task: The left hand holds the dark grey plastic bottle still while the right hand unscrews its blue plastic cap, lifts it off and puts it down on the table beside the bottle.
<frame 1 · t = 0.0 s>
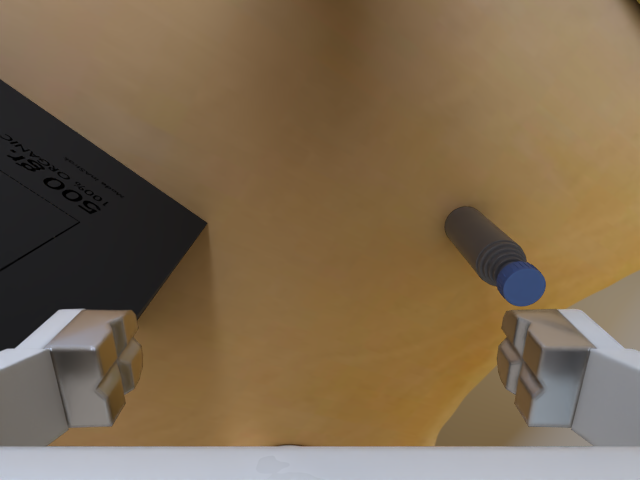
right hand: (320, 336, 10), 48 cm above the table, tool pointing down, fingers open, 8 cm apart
black boxy piece: (43, 196, 58), on the table
cap: (523, 286, 42), point 18 cm above the table, screwed on, not yet turned
bottle: (464, 225, 60), on the table
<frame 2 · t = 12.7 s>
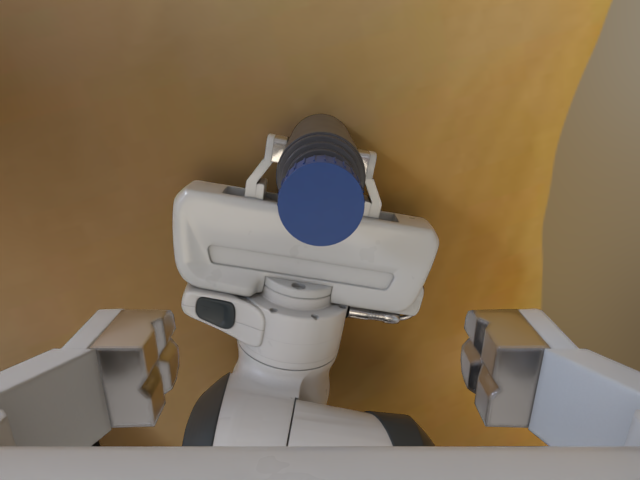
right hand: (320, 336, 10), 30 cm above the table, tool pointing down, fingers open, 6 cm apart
left hand: (322, 143, 33), fingers closed on bottle, 5 cm apart
cap: (321, 204, 20), point 18 cm above the table, screwed on, not yet turned
bottle: (320, 145, 38), on the table, touching left hand
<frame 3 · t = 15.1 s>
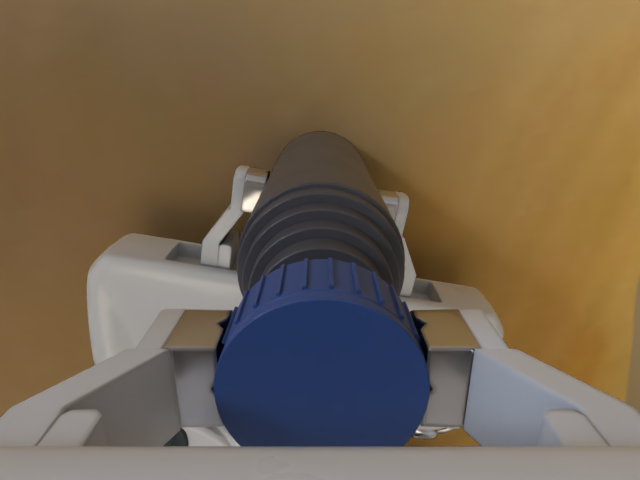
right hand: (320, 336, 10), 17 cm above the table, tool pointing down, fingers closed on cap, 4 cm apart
cap: (321, 384, 8), point 18 cm above the table, screwed on, not yet turned, touching right hand
bottle: (320, 177, 26), on the table, touching left hand
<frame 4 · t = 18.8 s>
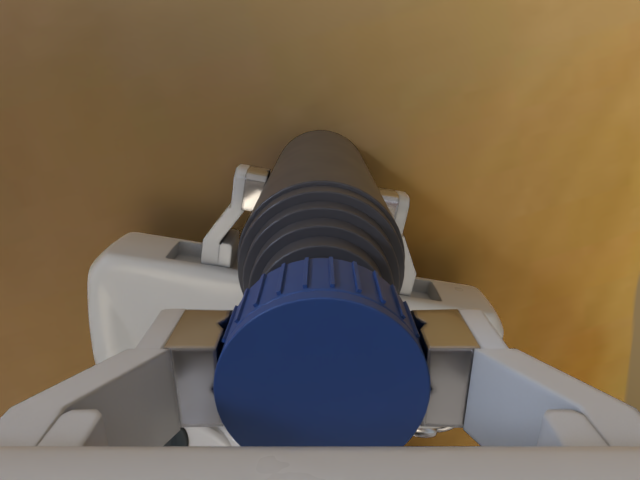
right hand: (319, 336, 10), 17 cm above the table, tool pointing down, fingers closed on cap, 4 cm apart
cap: (321, 384, 8), point 19 cm above the table, turned 97° so far, risen 0.1 cm, still on its thread, touching right hand
bottle: (320, 176, 26), on the table, touching left hand
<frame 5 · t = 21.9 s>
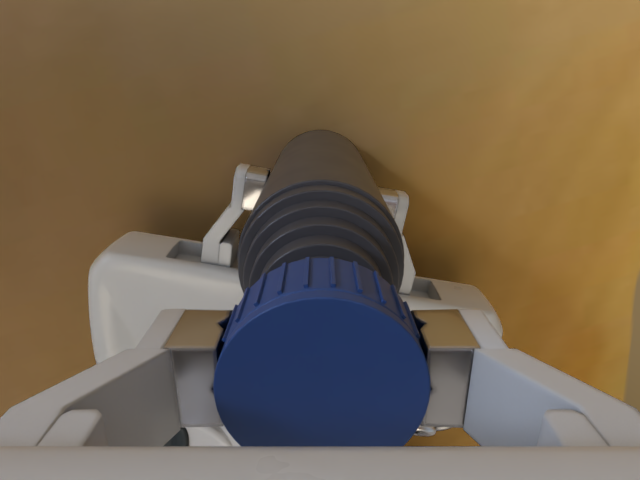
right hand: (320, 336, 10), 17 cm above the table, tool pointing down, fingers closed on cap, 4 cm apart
cap: (321, 384, 8), point 19 cm above the table, turned 193° so far, risen 0.2 cm, still on its thread, touching right hand
bottle: (320, 175, 26), on the table, touching left hand
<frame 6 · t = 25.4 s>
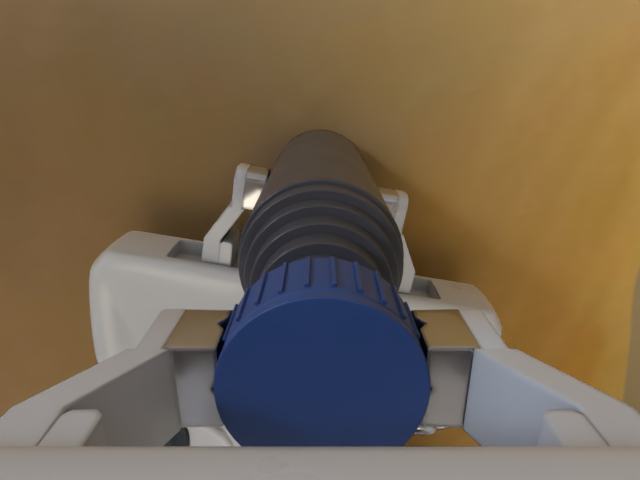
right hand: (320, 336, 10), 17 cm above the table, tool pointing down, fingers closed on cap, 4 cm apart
cap: (322, 383, 8), point 19 cm above the table, turned 289° so far, risen 0.3 cm, still on its thread, touching right hand
bottle: (320, 175, 26), on the table, touching left hand
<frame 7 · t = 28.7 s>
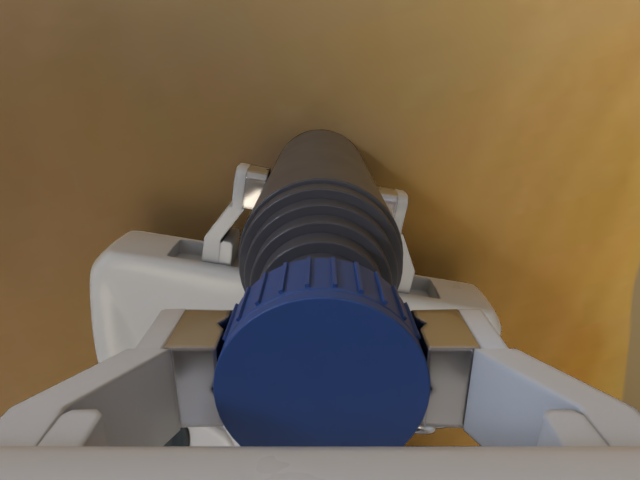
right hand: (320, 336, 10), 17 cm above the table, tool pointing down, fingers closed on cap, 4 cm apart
cap: (321, 384, 8), point 19 cm above the table, turned 386° so far, risen 0.3 cm, still on its thread, touching right hand
bottle: (320, 175, 26), on the table, touching left hand
when the right hand's fingers open (2 cm above the table, at t = 34.9 s): cap drops 2 cm, point 1 cm above the table.
when the left hand's fingers open (5 cm above the table, at t = 36.1 s): bottle stays where it is, on the table.
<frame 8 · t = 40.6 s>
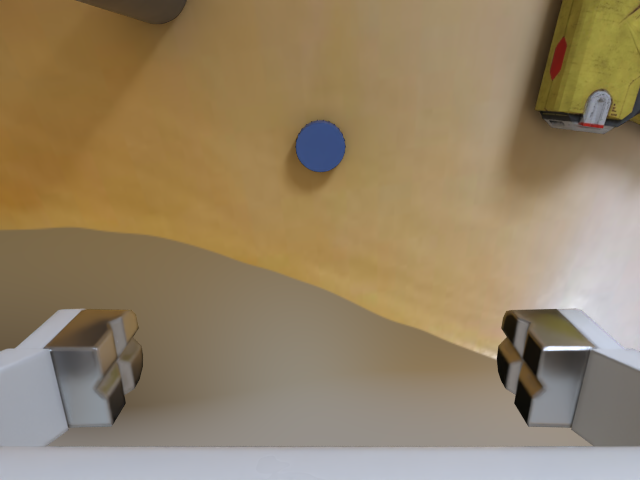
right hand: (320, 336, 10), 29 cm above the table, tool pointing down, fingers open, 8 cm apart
cap: (320, 147, 36), point 1 cm above the table, off its thread
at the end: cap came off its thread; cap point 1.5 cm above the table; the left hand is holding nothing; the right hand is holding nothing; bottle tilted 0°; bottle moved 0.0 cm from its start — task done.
